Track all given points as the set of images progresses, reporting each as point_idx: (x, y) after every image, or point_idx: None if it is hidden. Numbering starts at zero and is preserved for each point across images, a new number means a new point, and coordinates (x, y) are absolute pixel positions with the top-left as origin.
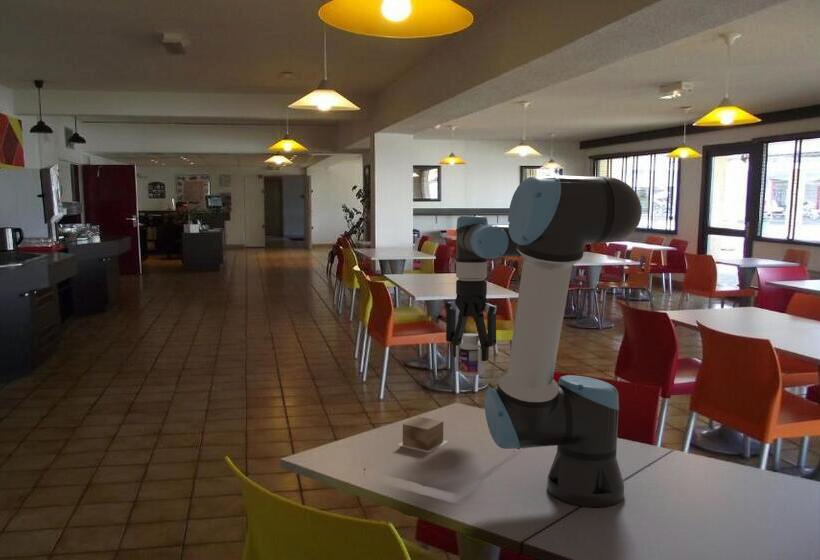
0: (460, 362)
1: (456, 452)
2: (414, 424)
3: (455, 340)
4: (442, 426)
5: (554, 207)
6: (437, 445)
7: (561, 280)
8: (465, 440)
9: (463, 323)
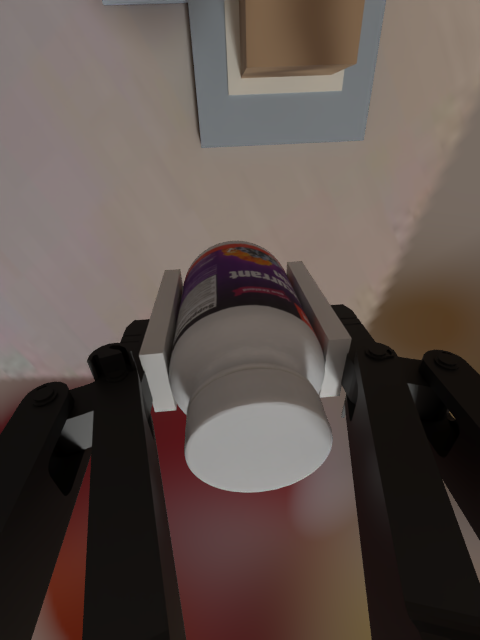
0: (279, 272)
1: (185, 65)
2: None
3: (375, 367)
4: (245, 62)
5: None
6: (237, 25)
7: None
8: (218, 180)
9: (380, 565)
